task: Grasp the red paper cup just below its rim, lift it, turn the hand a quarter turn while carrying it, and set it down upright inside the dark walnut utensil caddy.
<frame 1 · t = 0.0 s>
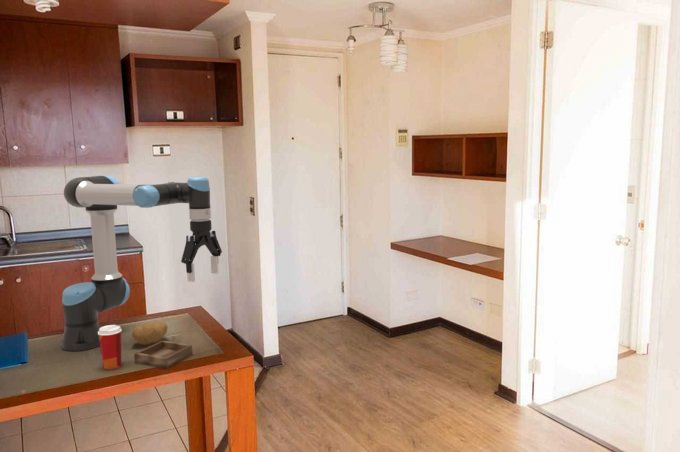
hand: (203, 277, 200), 28 cm above the table, fingers open, 13 cm apart
caddy: (164, 358, 196), on the table
paper cup: (112, 367, 190), on the table
potato: (151, 343, 212), on the table
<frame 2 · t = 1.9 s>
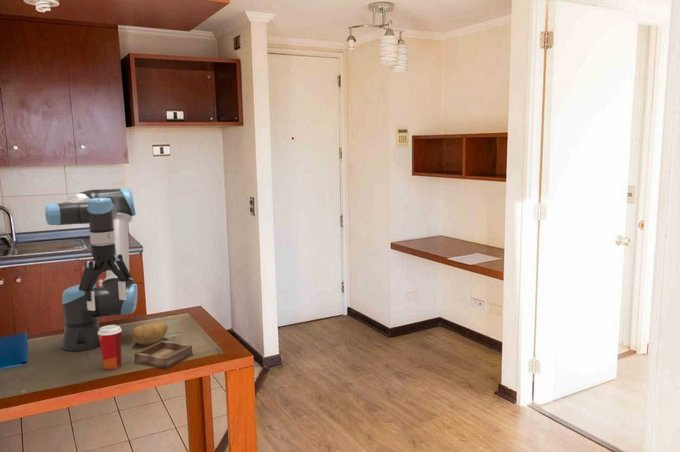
hand: (107, 304, 187), 22 cm above the table, fingers open, 13 cm apart
nothing on the table moved.
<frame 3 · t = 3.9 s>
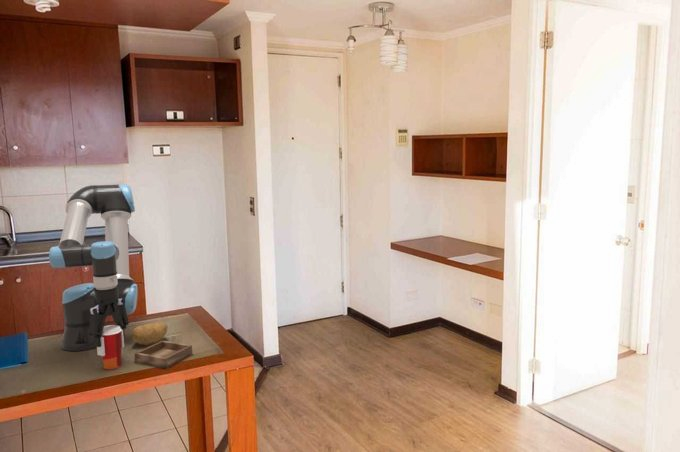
hand: (111, 350, 189), 6 cm above the table, fingers closed on paper cup, 8 cm apart
paper cup: (112, 367, 190), on the table, touching gripper
everything else where it was.
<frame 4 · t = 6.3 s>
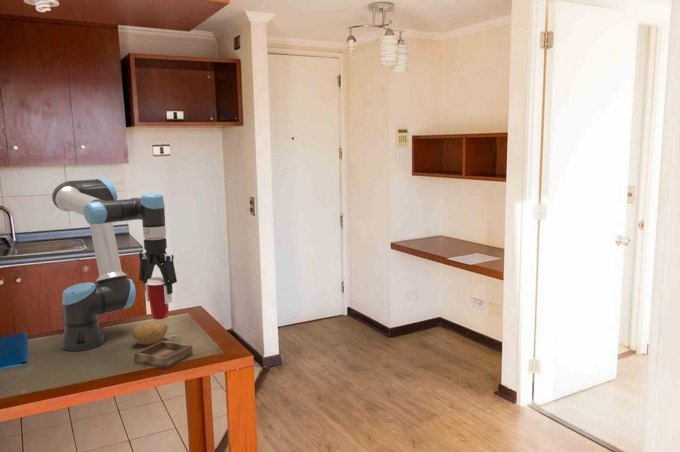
hand: (159, 301, 193), 21 cm above the table, fingers closed on paper cup, 8 cm apart
paper cup: (160, 317, 194), point 15 cm above the table, touching gripper
everything else where it was.
when the fingers open (9 cm above the table, at t = 9.1 s): paper cup drops 2 cm, resting on caddy.
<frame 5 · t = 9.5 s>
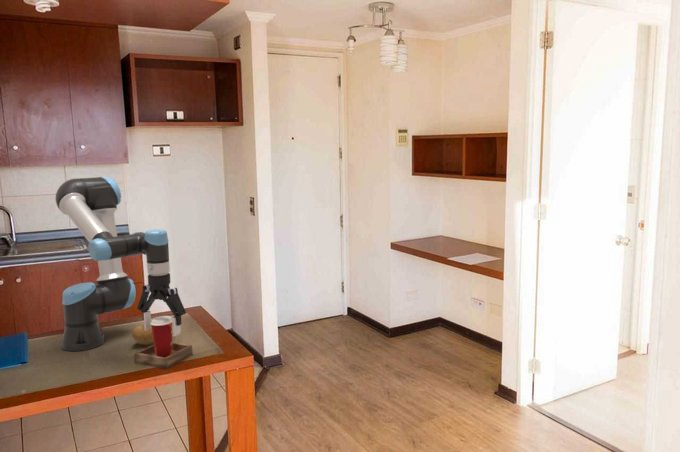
hand: (162, 331, 195), 10 cm above the table, fingers open, 13 cm apart
paper cup: (164, 356, 196), point 1 cm above the table, touching caddy
everything else where it was.
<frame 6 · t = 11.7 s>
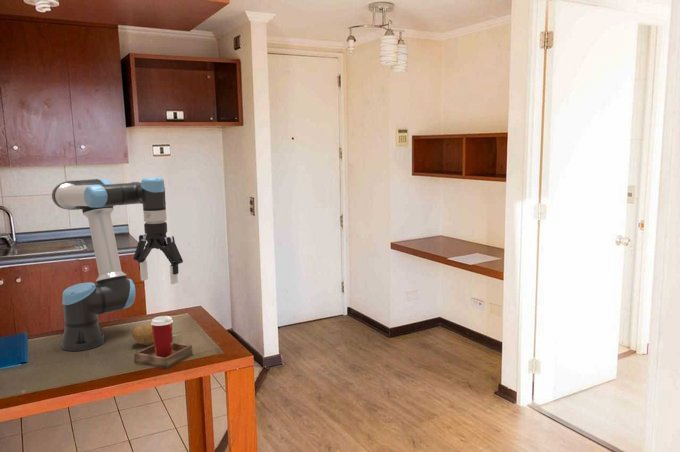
hand: (159, 281, 192), 29 cm above the table, fingers open, 13 cm apart
nothing on the table moved.
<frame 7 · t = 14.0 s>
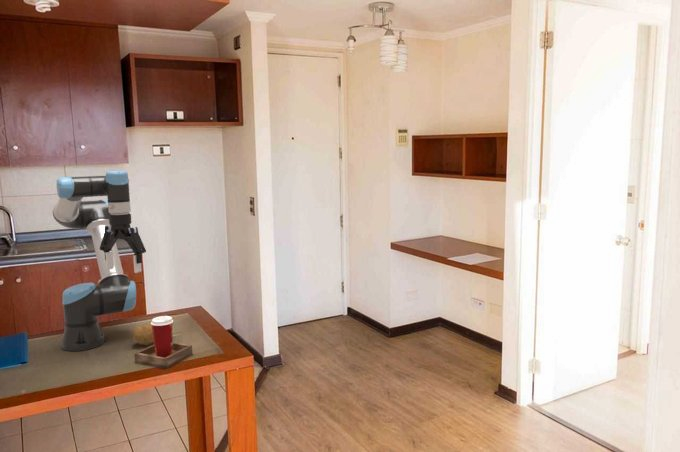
hand: (124, 270, 201), 31 cm above the table, fingers open, 13 cm apart
nothing on the table moved.
at the end: paper cup inside the target area on the caddy (0.1 cm from its centre), point 0.8 cm above the caddy's base; paper cup tilted 0°; the gripper is holding nothing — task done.
